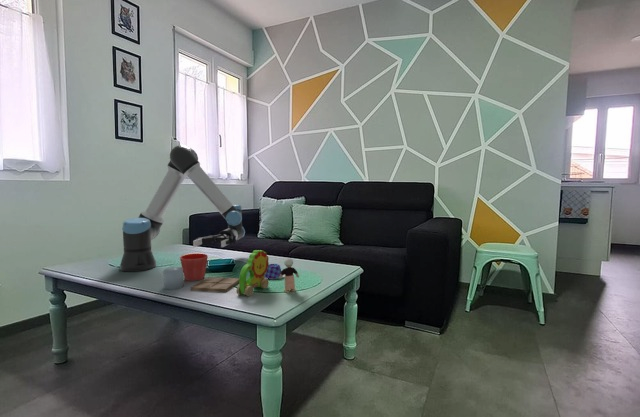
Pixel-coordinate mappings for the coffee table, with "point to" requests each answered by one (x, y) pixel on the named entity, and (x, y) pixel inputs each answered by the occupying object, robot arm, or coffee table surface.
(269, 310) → the coffee table surface
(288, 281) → the grandmother figurine
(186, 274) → the flower pot
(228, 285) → the trivet
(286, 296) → the coffee table surface
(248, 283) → the toy lion
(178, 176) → the robot arm
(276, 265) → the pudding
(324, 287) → the coffee table surface
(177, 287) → the grey rounded cylinder
